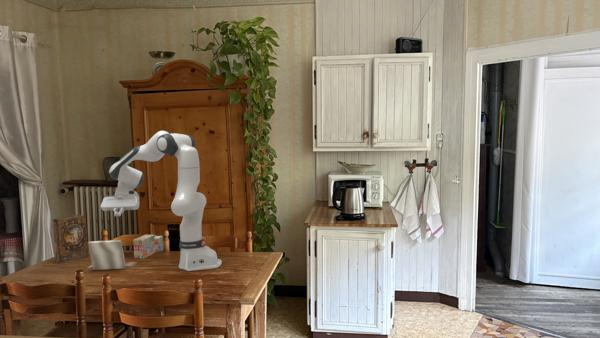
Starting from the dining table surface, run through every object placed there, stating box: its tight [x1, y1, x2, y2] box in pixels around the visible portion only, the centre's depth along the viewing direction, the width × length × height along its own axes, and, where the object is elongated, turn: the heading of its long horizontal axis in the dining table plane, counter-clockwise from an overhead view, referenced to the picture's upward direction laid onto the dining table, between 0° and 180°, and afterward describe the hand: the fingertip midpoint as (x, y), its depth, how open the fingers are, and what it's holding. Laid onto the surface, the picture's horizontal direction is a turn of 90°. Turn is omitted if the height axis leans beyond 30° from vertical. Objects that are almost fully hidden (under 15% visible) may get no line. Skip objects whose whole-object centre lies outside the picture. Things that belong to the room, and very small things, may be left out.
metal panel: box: [87, 239, 127, 271], centre depth 206 cm, size 16×17×2 cm
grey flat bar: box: [86, 261, 139, 270], centre depth 213 cm, size 24×6×2 cm, turn 94°
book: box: [52, 214, 89, 264], centre depth 232 cm, size 16×6×25 cm, turn 144°
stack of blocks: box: [132, 234, 165, 259], centre depth 237 cm, size 21×6×12 cm, turn 169°
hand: (117, 215), depth 221 cm, fingers closed
